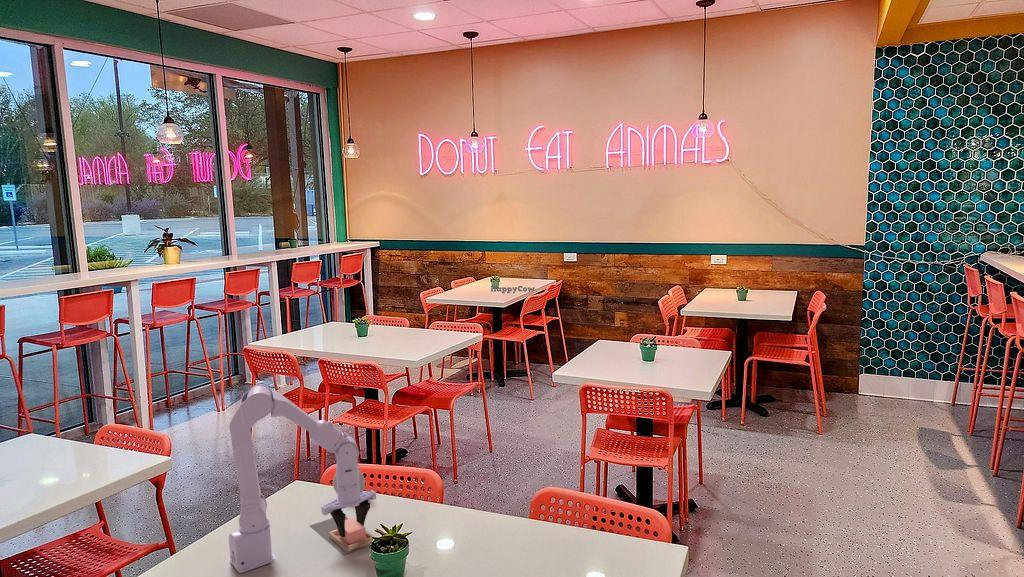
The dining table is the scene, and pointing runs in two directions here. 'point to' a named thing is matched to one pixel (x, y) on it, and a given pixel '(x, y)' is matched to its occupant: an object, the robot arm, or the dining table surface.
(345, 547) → the tray
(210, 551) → the dining table surface
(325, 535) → the mat
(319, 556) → the dining table surface
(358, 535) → the card deck
